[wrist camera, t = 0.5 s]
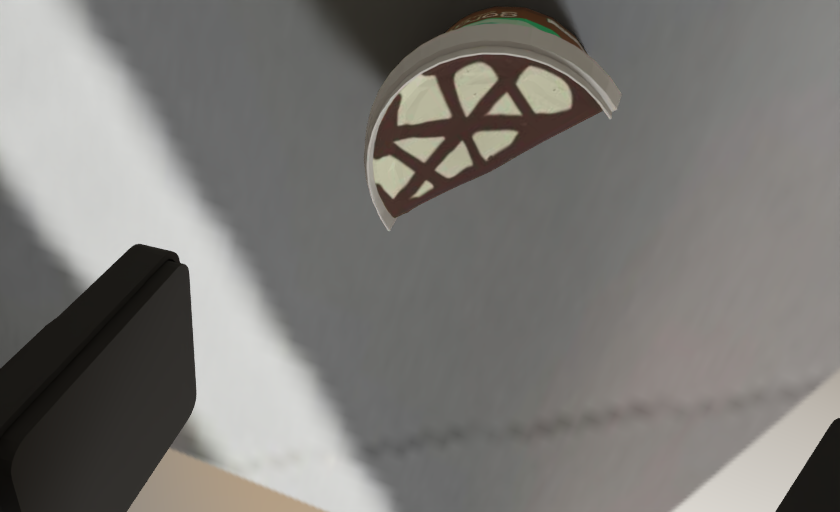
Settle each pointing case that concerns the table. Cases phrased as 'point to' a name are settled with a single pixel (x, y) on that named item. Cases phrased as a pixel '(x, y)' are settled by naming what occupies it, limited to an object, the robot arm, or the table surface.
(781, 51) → the table surface
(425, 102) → the food container
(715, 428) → the table surface
